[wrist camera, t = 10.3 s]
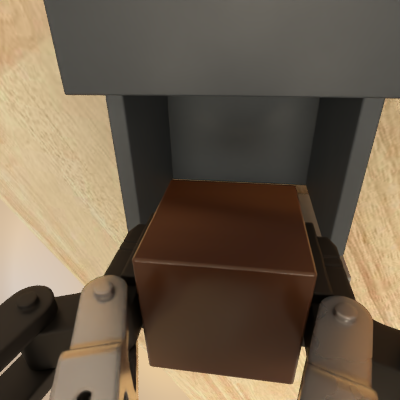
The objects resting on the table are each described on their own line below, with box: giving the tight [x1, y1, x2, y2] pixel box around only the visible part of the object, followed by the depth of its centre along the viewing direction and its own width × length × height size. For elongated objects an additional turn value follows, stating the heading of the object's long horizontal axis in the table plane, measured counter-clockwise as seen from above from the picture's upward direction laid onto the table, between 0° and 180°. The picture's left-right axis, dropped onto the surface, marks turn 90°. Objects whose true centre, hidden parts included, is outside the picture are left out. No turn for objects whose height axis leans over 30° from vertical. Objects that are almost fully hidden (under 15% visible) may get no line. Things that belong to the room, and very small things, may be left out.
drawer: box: [105, 95, 385, 283], centre depth 19 cm, size 18×12×9 cm
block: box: [132, 180, 317, 384], centre depth 11 cm, size 4×4×4 cm
